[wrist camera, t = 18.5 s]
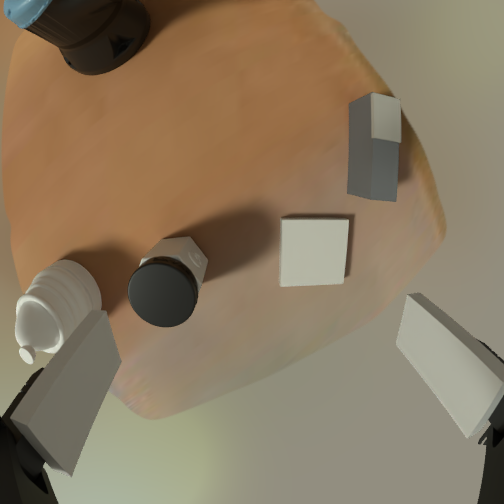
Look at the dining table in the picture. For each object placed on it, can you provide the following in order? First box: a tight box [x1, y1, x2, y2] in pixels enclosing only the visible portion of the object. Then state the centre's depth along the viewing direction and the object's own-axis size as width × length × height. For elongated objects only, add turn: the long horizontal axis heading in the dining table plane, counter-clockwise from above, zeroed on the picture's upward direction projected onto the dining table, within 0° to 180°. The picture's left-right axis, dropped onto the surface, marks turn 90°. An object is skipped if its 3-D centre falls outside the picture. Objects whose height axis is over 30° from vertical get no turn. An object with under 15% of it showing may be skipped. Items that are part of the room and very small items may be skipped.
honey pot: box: [15, 259, 102, 364], centre depth 33 cm, size 13×13×18 cm
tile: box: [279, 218, 349, 287], centre depth 41 cm, size 2×10×10 cm
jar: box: [128, 236, 208, 327], centre depth 36 cm, size 9×8×12 cm
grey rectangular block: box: [347, 92, 401, 202], centre depth 34 cm, size 14×4×8 cm, turn 179°
